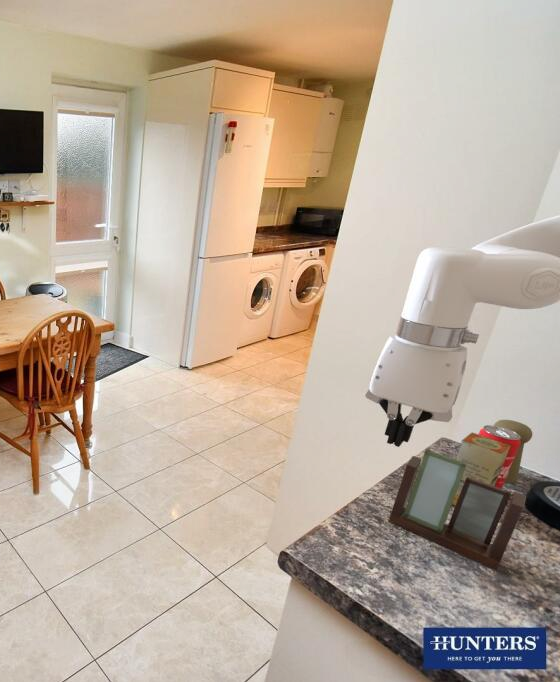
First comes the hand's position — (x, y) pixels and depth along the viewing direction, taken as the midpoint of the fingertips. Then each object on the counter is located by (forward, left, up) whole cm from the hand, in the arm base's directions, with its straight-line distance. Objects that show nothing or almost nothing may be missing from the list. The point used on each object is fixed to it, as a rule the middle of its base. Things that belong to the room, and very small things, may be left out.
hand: (395, 442), depth 71 cm
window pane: (-6, +2, -12) cm, 13 cm away
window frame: (-8, +3, -14) cm, 16 cm away
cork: (-24, -24, -14) cm, 37 cm away
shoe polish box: (-15, -10, -14) cm, 23 cm away
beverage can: (-19, -16, -14) cm, 28 cm away
